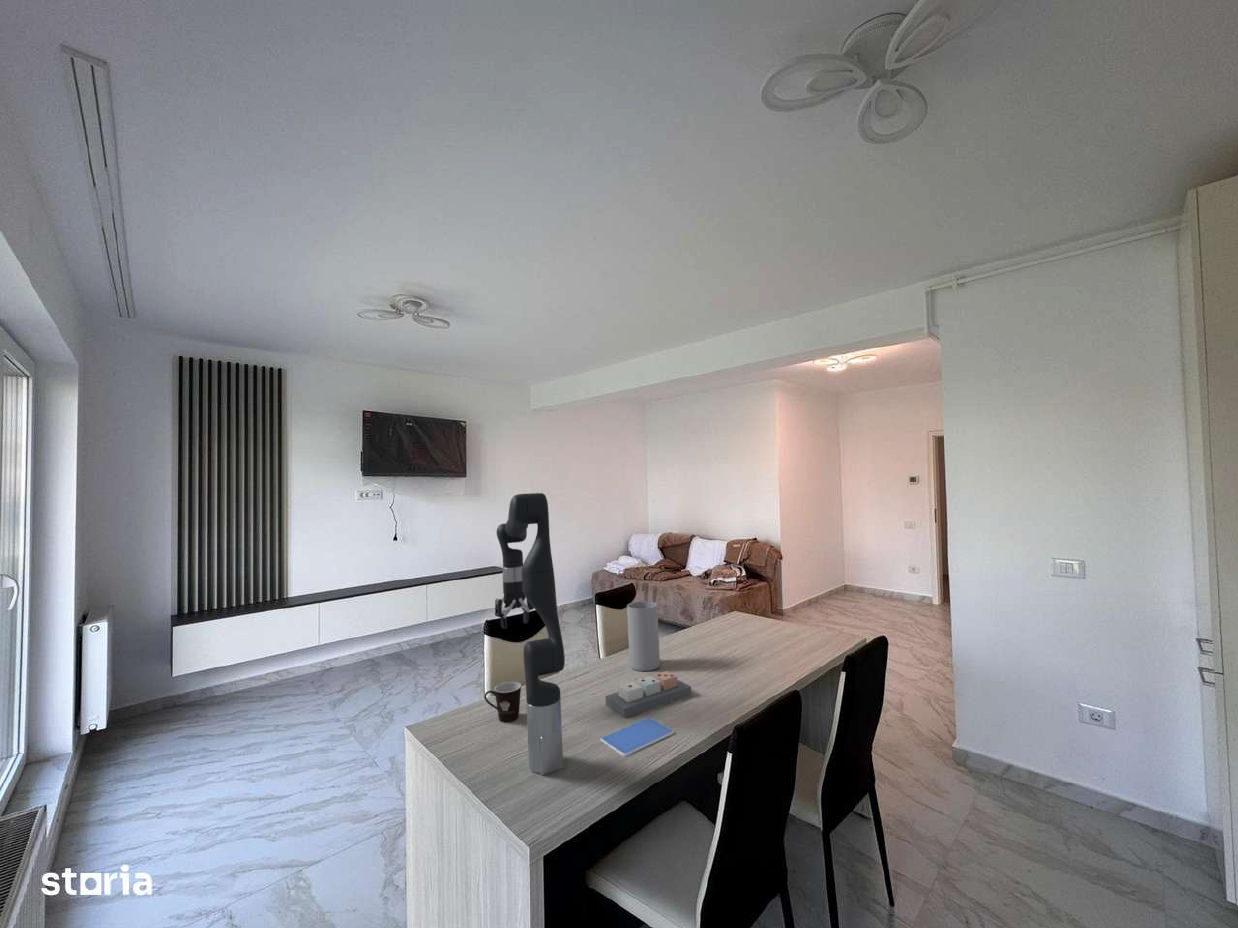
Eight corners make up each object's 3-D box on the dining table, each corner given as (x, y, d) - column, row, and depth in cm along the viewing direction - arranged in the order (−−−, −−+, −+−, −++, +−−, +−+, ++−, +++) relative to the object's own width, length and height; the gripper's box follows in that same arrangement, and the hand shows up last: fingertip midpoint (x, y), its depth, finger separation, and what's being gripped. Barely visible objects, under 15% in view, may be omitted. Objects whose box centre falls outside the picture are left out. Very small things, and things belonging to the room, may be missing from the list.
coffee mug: (527, 714, 161) (526, 684, 161) (509, 726, 154) (508, 694, 154) (502, 708, 167) (501, 678, 167) (483, 718, 159) (482, 688, 160)
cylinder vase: (660, 660, 205) (657, 601, 206) (659, 671, 193) (656, 608, 194) (631, 660, 206) (628, 601, 208) (628, 672, 194) (625, 609, 195)
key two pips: (660, 691, 167) (660, 680, 167) (646, 696, 164) (646, 685, 164) (650, 686, 172) (650, 675, 172) (636, 690, 169) (636, 679, 169)
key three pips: (677, 686, 171) (677, 675, 171) (664, 690, 168) (663, 679, 168) (667, 680, 176) (666, 670, 176) (654, 684, 173) (653, 674, 173)
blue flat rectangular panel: (624, 759, 133) (624, 754, 133) (598, 741, 143) (598, 737, 143) (675, 735, 144) (675, 730, 144) (648, 720, 154) (648, 716, 154)
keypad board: (691, 694, 170) (690, 686, 170) (624, 718, 155) (624, 708, 155) (670, 684, 180) (670, 675, 180) (605, 704, 166) (605, 695, 166)
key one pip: (643, 697, 163) (642, 686, 163) (628, 702, 160) (627, 690, 160) (633, 691, 168) (632, 680, 168) (618, 696, 165) (618, 685, 165)
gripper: (501, 583, 164) (502, 632, 163) (536, 577, 174) (538, 622, 173) (490, 581, 170) (491, 628, 169) (525, 575, 179) (526, 619, 178)
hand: (515, 625), depth 171 cm, fingers open, 8 cm apart
